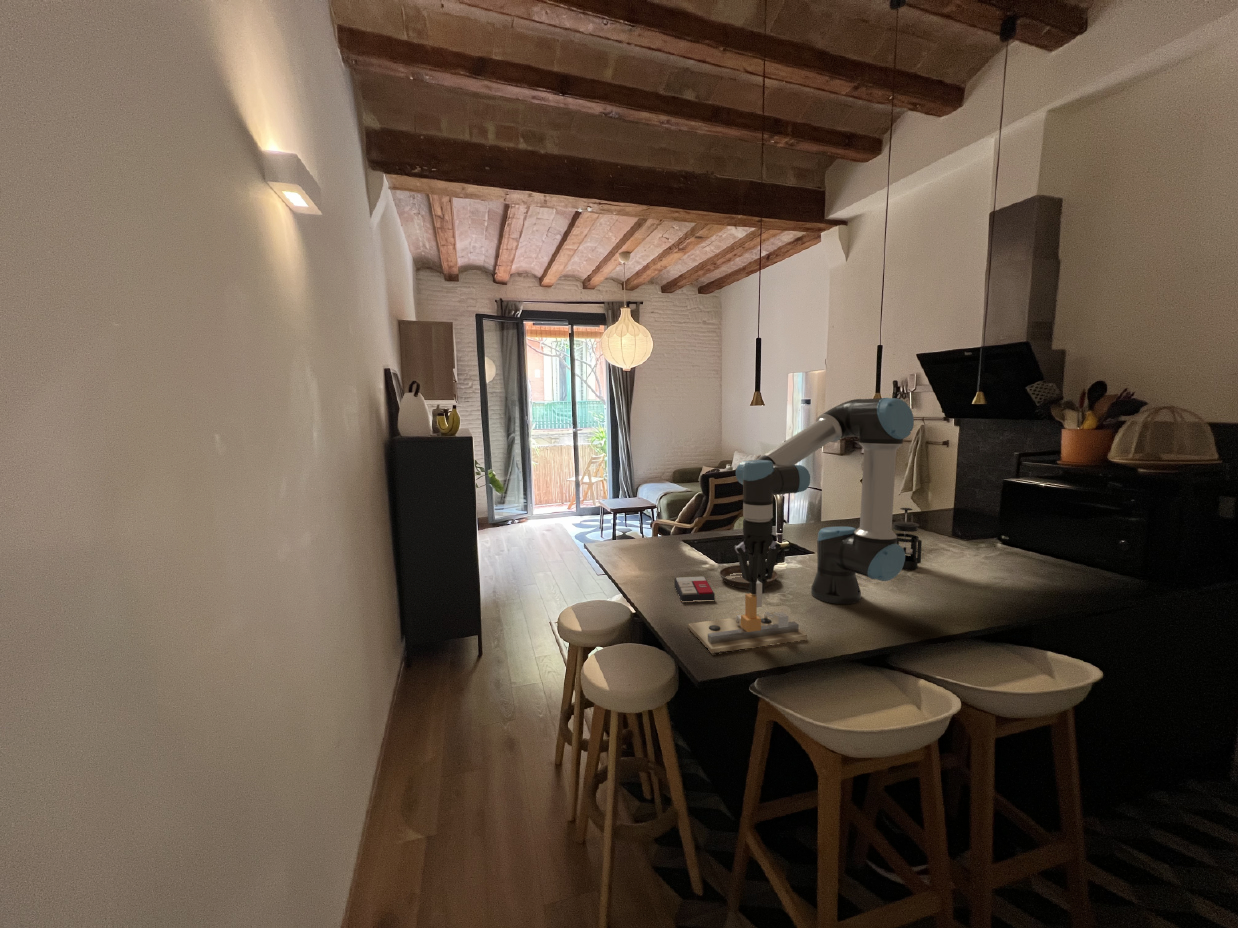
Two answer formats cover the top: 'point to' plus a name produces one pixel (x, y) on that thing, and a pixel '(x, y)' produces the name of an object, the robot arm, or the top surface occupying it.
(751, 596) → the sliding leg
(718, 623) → the hole plate
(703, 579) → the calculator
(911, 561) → the french press
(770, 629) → the rail
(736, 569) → the plant saucer
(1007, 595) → the top surface
